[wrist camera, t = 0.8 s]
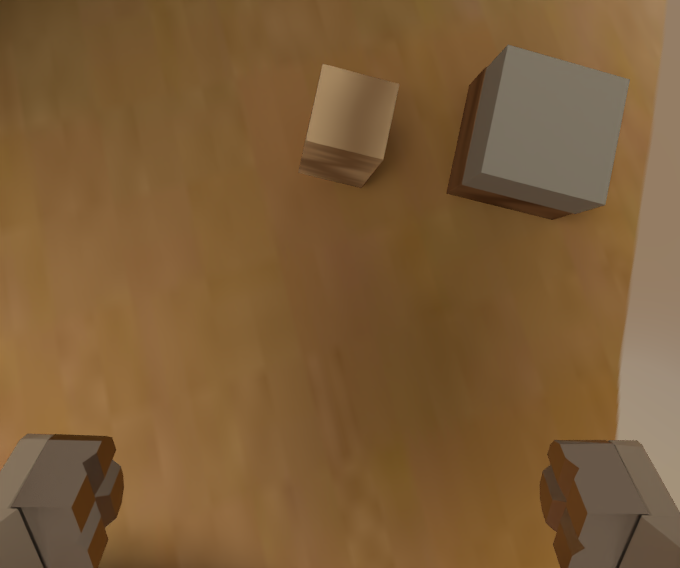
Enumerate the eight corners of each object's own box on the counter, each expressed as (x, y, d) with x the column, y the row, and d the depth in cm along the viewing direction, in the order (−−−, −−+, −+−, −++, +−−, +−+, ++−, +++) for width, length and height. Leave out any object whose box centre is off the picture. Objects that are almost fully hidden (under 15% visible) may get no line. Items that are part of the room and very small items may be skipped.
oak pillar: (298, 172, 46) (305, 140, 37) (312, 110, 46) (322, 63, 38) (360, 187, 47) (383, 159, 38) (374, 126, 47) (399, 83, 38)
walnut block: (445, 194, 48) (461, 183, 44) (468, 86, 48) (485, 66, 45) (550, 220, 49) (575, 212, 45) (571, 114, 49) (597, 98, 46)
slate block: (461, 184, 44) (481, 172, 40) (486, 68, 45) (508, 44, 41) (575, 213, 45) (605, 204, 41) (597, 99, 46) (629, 79, 42)
